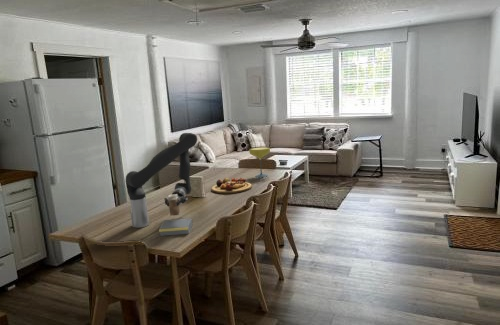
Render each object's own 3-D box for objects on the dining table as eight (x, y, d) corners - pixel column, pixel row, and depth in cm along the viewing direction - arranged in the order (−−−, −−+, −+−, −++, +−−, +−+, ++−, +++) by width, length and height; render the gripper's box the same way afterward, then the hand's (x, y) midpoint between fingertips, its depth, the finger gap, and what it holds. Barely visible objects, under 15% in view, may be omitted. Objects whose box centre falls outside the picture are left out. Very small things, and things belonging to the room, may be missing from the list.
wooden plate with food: (243, 195, 280) (242, 184, 278) (204, 193, 290) (203, 183, 289) (257, 184, 309) (256, 174, 308) (221, 183, 320) (220, 174, 319)
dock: (159, 236, 209) (158, 229, 208) (165, 226, 224) (164, 220, 223) (188, 234, 209) (187, 227, 208) (192, 224, 223) (191, 218, 223)
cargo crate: (170, 215, 213) (167, 196, 211) (171, 212, 217) (169, 194, 215) (178, 214, 213) (175, 196, 210) (179, 212, 217) (177, 193, 215)
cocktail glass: (247, 177, 333) (245, 149, 328) (258, 173, 347) (256, 146, 342) (264, 179, 322) (262, 150, 318) (275, 174, 337) (273, 146, 332)
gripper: (165, 190, 227) (159, 199, 210) (189, 188, 227) (184, 197, 210) (167, 202, 228) (160, 211, 212) (190, 200, 228) (186, 209, 212)
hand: (172, 204), depth 211 cm, fingers closed on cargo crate, 4 cm apart
